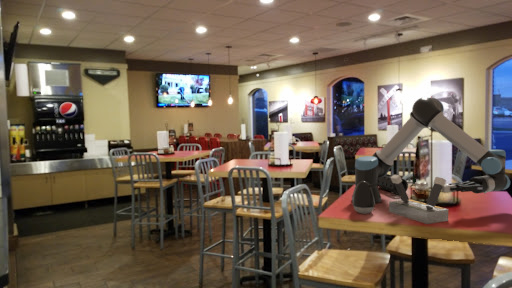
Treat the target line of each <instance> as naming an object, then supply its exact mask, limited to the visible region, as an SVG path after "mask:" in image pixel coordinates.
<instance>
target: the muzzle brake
mask: <svg viewBox="0 0 512 288" xmlns="http://www.w3.org/2000/svg"><path fill="white" fill-rule="evenodd" d="M392 176H393V175H391V174H388V173H387V174H386V175H385V176H383V177H379V178H378V188H381V189H382V190H384V191H388V192H391V193H393V194H394V195H397V196H399V193H398V191H397V189H396V187H395V184H394V183H393V182H392V180H391V178H390V177H392ZM401 179H402V184H403V186H404V188H405V191H406V192H407V190H408V188H409V184H408V181H407V180H406V179H405V178H402V177H401Z"/></svg>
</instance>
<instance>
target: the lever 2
mask: <svg viewBox="0 0 512 288" xmlns="http://www.w3.org/2000/svg"><path fill="white" fill-rule="evenodd" d="M446 182H447V180H446V179H445V178H443V177H439V176H435V178H434V180H433V185H432V188H431V191H430V193H429V196H428V197H427V198H428V199H427V201H426V205H428V206H426V208H429V209H433V207H435V206H436V204H437V202H438V199H439V197H440V195H441V193H442V187H444V186H446ZM430 206H431V207H430Z"/></svg>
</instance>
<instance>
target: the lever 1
mask: <svg viewBox="0 0 512 288" xmlns="http://www.w3.org/2000/svg"><path fill="white" fill-rule="evenodd" d="M390 178H391V180H392V182H393V183H394V184H395V187H396V189H397V191H398V193H399V195H398V196H399V198H400V200H402V201H403V202H407V203H409V201H408V200H409V199H410V198H409V196H408V194H407V191H405V188H404V186H403V184H402V179H403V178H402V177H401V175H398V174H393V175H392V177H390ZM401 178H402V179H401Z"/></svg>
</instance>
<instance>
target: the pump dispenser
mask: <svg viewBox="0 0 512 288" xmlns="http://www.w3.org/2000/svg"><path fill="white" fill-rule="evenodd" d="M372 186H375V183H373V184H369V183H368V182H366V181H361V182H359V183H358V185H357V187H356V189H355V188H354V189H355V192H354V191H353V192H354V196H353V201H352V206H353V209H354V211H356V213H358V214H361V215H366V214H370V213H372V212H373V211H374V208H375V206H376V203H375V200H374V195H373V191H372V189H371V187H372Z"/></svg>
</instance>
